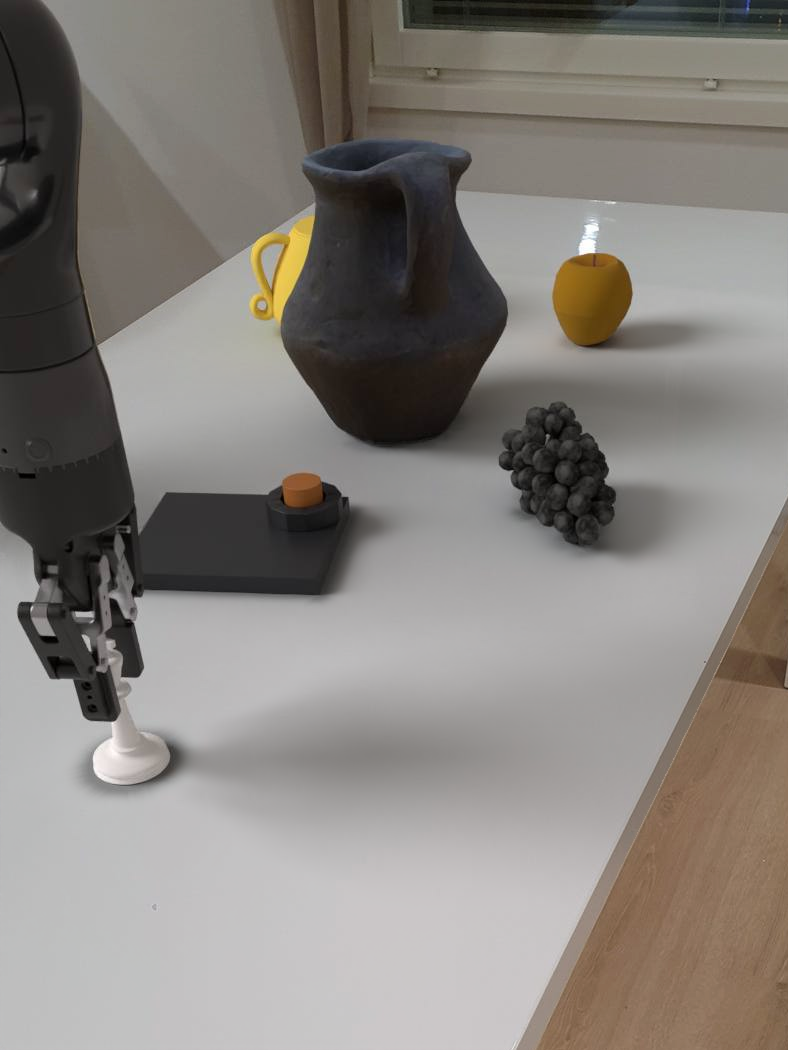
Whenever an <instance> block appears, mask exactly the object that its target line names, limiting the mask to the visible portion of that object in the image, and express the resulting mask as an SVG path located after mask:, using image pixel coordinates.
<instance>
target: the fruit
mask: <svg viewBox="0 0 788 1050" xmlns="http://www.w3.org/2000/svg"><path fill="white" fill-rule="evenodd" d="M576 419H577V415H576V412H575V410H574V409H573V408H571V407H569V406H568V405H567V404H566V403H565V402H563V401H555V402H552V403H550V405H549V407H548V408H546V407H539V406H533V407H532V408H530V409H528V410H527V412H526V414H525V424H524V425H523V427H522V430H520V429H512V428H511V429H508V430H507V431H505V432H504V434H503V435H502V437H501V443H502V446H503V447H504V448H505V450H504V451H503V450H502V452H501V453H500V454H499V456H498V457H497V458H498V459H497V460H498V466H499V467H500V468H501V469H502V470H505V471H507V472H511V474H510V476H509V478H510V482H511V484H512V486H513V487H514V488H516V489H517V490H519V491H521V495H520V497H519V500H518V502H519V505H520V509H521V510H522V511H523V512H526V513H527V514H535V515H536V518H537V519H538V521H539V523H540V524H541V526H544V527H549V528H551V527H554V529H555V530H556V531H557V532H559V533H560V534H562V537H563V539H564V541H566V542H569V543H571V544H574V543H578V544H579V545H580V546H587V547H590V546H592V545H593V544H595V543H596V542H597V541H598V540H599V537H600V528H601V526H602V527H605V526H607V525H609V524H611V523H612V522H613V520H614V518H615V516H616V513H615V506H613V505H614V504H615V503H616V501H617V491H616V490H615V489H614V487H613V486H611V485H609V484H606V481H605V480H606V479H607V477H608V476H609V472H610V468H609V464H608V463H607V461H606V459H607V457H606V455H605V454H604V452H603V451H602V450H600V448H599V443H597V442H596V439H595V438H594V435H592V434H591V433H589V432H584V433H583V425H582V424H581V422H580V421H579V420H576ZM547 435H548V436H549V437H548V438H547Z"/></svg>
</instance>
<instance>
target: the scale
mask: <svg viewBox="0 0 788 1050" xmlns="http://www.w3.org/2000/svg"><path fill="white" fill-rule="evenodd" d="M321 482H322V491H323V501H322V502H321V503H319V504H317V505H314V506H309V507H291V506H288V505H286V504H285V502H284V494H283V487H282V484H281V485H279V486H277V487H276V488H274V489H272V490H270V491H269V492H268V494H258V493H256V494H255V493H254V494H253V493H220V492H219V493H217V492H214V493H213V492H182V491H181V492H178V491H166V492H165V493H164V495H163V496H162V498H161V500H160V501H159V502H158V504H157V506H156V507H155V509H154V510H153V512H152V513H151V515H150V516H149V518H148V520H147V522H146V523H145V525H144V526H143V528H142V529H141V531H140V533H139V544H140V554H141V564H142V574H143V584H144V590H163V591H164V590H165V591H166V590H167V591H194V592H196V591H197V592H198V591H199V592H229V593H254V594H255V593H257V594H259V593H260V594H287V595H290V594H291V595H319V593H320V590H321V588H322V586H323V583H324V580H325V579H326V575H327V573H328V570H329V567H330V564H331V562H332V560H333V556H334V554H335V551H336V549H337V547H338V544H339V541H340V539H341V537H342V534H343V532H344V528H345V526H346V524H347V520H348V518H349V516H350V512H351V509H350V508H351V507H350V497H349V496H343V494H342V492H341V491H340V490H339V489H338V487H337V486H336V485H334V484H331V483H329V482H326V481H323V480H321Z"/></svg>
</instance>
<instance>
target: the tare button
mask: <svg viewBox="0 0 788 1050" xmlns="http://www.w3.org/2000/svg"><path fill="white" fill-rule="evenodd" d="M321 481H322V478H321V476H319V475H318V474H315V473H312V472H296V473H292V474H289V475H287V476H286V477H284V478H283V480H282V482H281V485H282V487H283V494H284V502H285V504H286V505H288V506H291V507H309V506H314V505H317V504H319V503H321V502H322V501H323V491H322V482H321Z"/></svg>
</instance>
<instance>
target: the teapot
mask: <svg viewBox="0 0 788 1050" xmlns="http://www.w3.org/2000/svg"><path fill="white" fill-rule="evenodd" d="M314 218H315V214H311V215H309V216H305V217H304V218H301V219H299V220H298V221H297V222H296V223H295V224H294V225H293V226H292V228H291V230H290V231H289V234H285V233H281V232H269V233H267V234H264V235H263V236H261V237H259V239H257V240H256V242H254V244H253V247H252V248H251V252H250V262H251V267H252V270H253V273H254V276H255V279H256V282H257V284H258V286H259V288H260V291H261V293H256V294H254V295H253V296H252V297H251V299H250V301H249V311H250V313H251V315H252V316H253V318H255V319H257V320H260V321H262V322H263V321H267V322H268V321H270V320H272V319H273V318H274V319H275V321H276V323H277V324H278V325H279V326H280V327H281V317H282V313H283V308H284V306H285V303H286V301H287V299H288V297H289V296H290V294H291V292H292V290H293V288H294V285H295V283H296V281H297V279H298V277H299V275H300V273H301V270H302V268H303V266H304V263H305V260H306V257H307V253H308V249H309V244H310V240H311V235H312V230H313V224H314ZM272 245H283V246H282V248H281V251H280V253H279V255H278V258H277V261H276V264H275V268H274V271H273V275H272V280H271V286H270V283H269V282H268V279H267V277H266V274H265V271H264V267H263V263H262V255H263V252H264V250H265V249H267V248H268V247H269V246H270V247H271V246H272ZM259 302H265V304H266V305H265V308H264V309H260V308H259V307H258V304H259Z"/></svg>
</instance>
